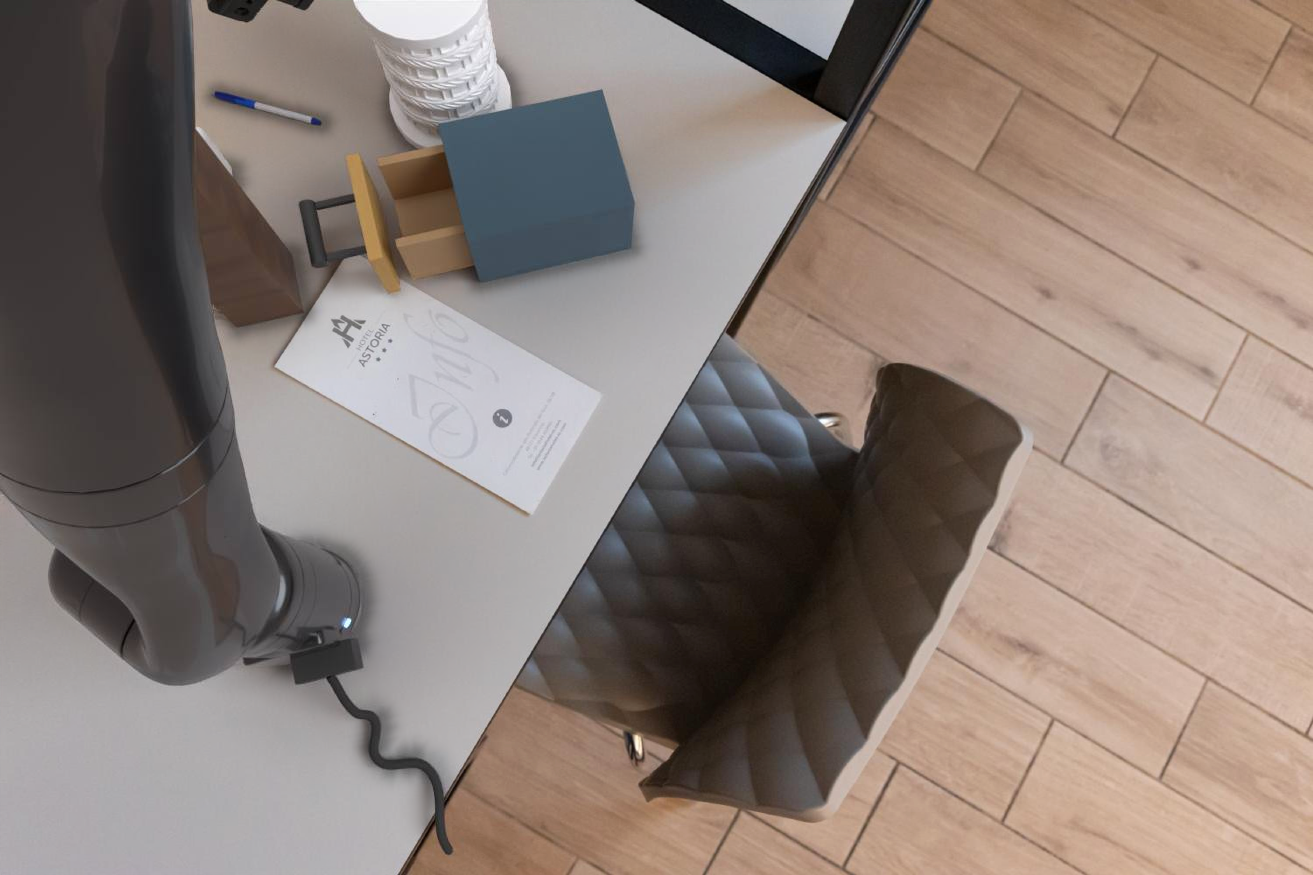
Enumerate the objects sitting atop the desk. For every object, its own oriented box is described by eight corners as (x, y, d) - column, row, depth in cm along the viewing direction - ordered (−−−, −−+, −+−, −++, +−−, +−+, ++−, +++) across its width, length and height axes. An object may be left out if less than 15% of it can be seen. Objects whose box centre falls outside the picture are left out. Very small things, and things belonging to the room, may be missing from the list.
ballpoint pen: (214, 101, 94) (210, 95, 93) (217, 93, 94) (213, 87, 93) (320, 127, 94) (317, 122, 93) (323, 119, 94) (320, 113, 94)
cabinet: (480, 283, 91) (466, 240, 82) (454, 177, 94) (437, 123, 84) (631, 248, 93) (634, 202, 84) (602, 144, 95) (602, 89, 86)
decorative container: (509, 160, 94) (488, 47, 77) (387, 156, 94) (338, 41, 76) (514, 53, 97) (495, -80, 79) (395, 48, 96) (349, -87, 79)
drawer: (331, 307, 89) (306, 274, 82) (310, 209, 91) (284, 168, 84) (532, 261, 91) (526, 225, 84) (507, 166, 93) (499, 123, 86)
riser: (303, 312, 90) (174, 162, 63) (237, 328, 89) (77, 183, 62) (291, 253, 91) (159, 80, 64) (226, 268, 90) (64, 99, 63)
